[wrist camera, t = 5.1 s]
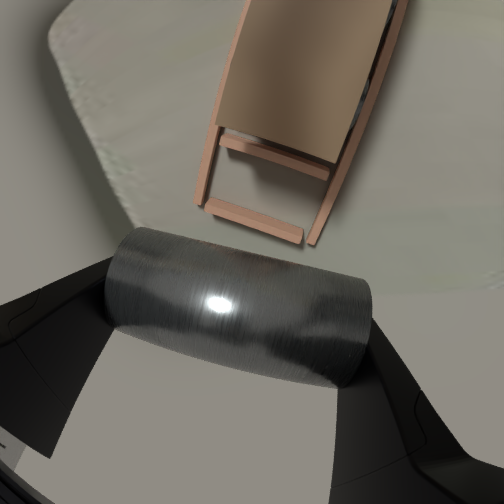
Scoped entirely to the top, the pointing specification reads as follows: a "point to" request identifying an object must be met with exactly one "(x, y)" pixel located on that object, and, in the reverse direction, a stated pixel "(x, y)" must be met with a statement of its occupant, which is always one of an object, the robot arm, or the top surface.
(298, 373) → the roller
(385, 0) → the walnut board
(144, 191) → the top surface
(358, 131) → the roller track
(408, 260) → the top surface
